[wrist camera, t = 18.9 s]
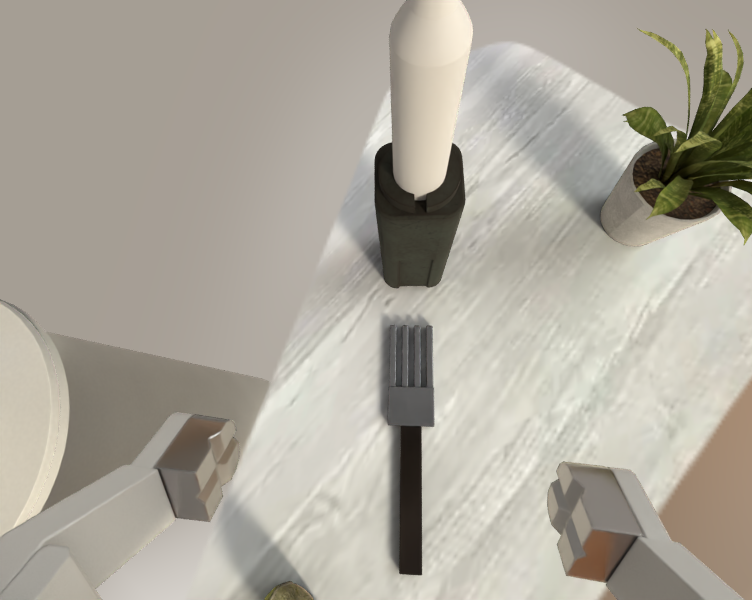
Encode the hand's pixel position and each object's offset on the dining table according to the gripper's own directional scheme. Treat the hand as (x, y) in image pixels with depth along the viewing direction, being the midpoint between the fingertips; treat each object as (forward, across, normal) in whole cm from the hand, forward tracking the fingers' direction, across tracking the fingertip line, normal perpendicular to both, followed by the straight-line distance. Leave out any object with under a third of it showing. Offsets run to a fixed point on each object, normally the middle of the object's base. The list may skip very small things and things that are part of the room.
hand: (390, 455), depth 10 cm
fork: (+14, -1, +16) cm, 22 cm away
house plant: (+29, -18, +2) cm, 34 cm away
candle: (+25, 0, +6) cm, 26 cm away
